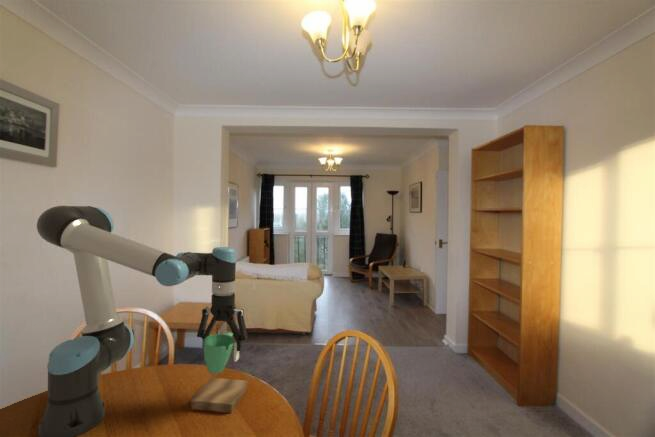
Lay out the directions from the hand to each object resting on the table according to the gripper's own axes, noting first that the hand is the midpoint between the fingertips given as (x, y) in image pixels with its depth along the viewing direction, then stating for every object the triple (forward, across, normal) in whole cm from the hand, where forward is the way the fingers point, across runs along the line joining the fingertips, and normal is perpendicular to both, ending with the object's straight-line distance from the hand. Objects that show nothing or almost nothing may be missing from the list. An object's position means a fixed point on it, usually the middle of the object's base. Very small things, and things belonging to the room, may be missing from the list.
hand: (221, 358), depth 106 cm
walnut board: (+14, 0, 0) cm, 14 cm away
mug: (+3, -1, 0) cm, 3 cm away
